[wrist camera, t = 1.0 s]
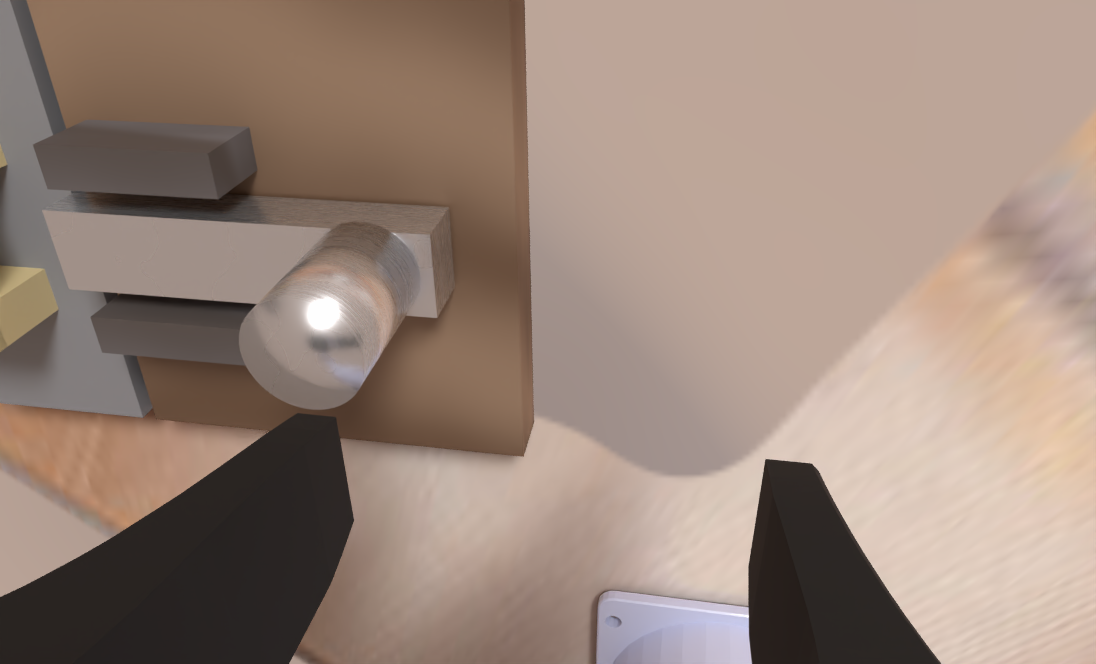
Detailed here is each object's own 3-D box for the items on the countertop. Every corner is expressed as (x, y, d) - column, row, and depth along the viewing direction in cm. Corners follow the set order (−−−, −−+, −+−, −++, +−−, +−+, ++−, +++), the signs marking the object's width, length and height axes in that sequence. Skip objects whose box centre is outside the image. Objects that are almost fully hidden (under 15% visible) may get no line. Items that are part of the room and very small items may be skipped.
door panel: (534, 422, 23) (509, 503, 21) (184, 388, 25) (118, 459, 22) (523, -46, 17) (486, -22, 14) (60, -51, 19) (-53, -30, 16)
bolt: (455, 293, 20) (387, 416, 16) (110, 268, 21) (-37, 375, 17) (448, 199, 19) (372, 304, 14) (82, 178, 20) (-85, 269, 16)
